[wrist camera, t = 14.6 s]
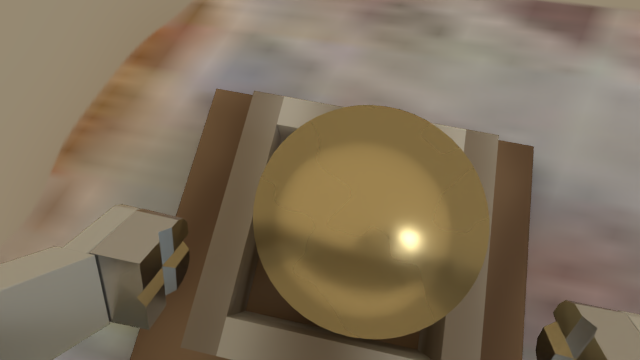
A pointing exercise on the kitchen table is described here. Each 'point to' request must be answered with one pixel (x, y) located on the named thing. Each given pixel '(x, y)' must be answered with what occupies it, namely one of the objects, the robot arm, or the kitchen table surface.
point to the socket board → (261, 295)
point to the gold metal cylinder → (371, 222)
